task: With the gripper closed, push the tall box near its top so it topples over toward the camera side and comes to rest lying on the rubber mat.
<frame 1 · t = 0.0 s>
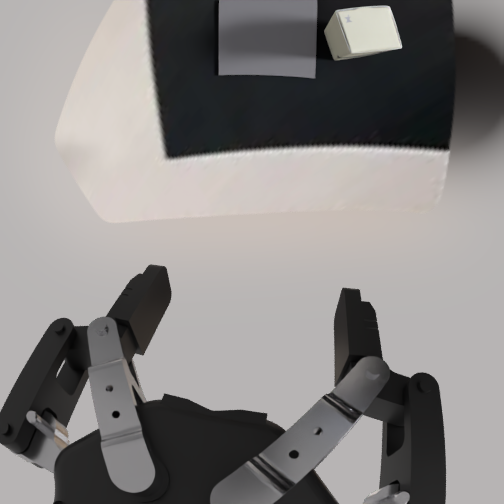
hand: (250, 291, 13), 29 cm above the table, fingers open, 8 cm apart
mat: (267, 35, 29), on the table
box: (348, 42, 28), on the table
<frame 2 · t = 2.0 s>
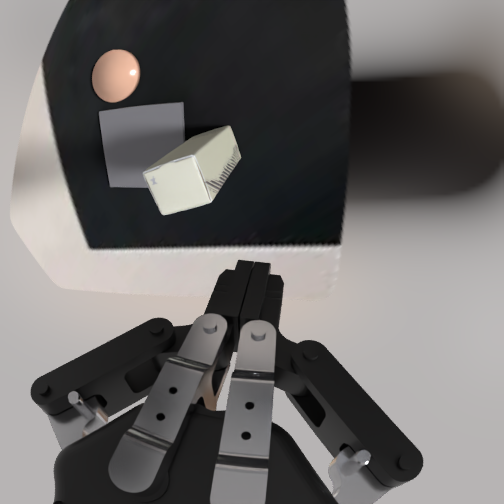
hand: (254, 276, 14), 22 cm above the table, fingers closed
mat: (142, 146, 35), on the table
glossy peach dome: (116, 75, 29), on the table
box: (218, 145, 33), on the table
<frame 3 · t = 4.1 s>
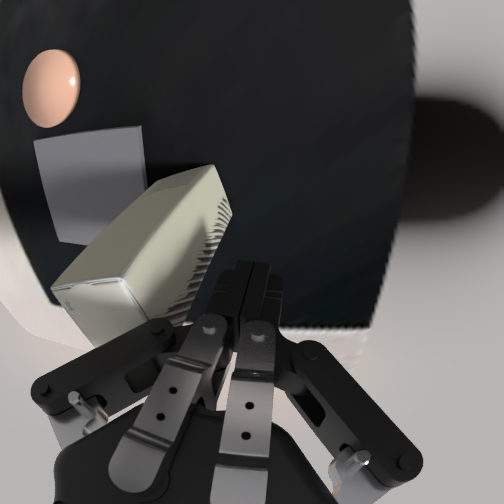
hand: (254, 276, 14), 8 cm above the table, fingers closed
mat: (91, 191, 23), on the table
glossy peach dome: (51, 87, 18), on the table
box: (196, 194, 22), on the table, touching gripper
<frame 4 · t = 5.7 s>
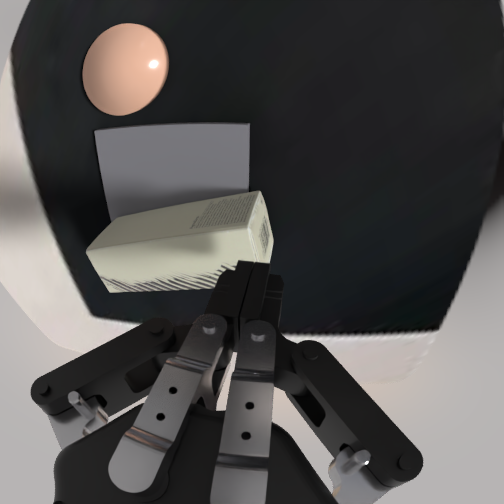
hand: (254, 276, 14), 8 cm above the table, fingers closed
mat: (171, 193, 22), on the table
glossy peach dome: (125, 68, 17), on the table
box: (267, 235, 19), point 3 cm above the table, touching mat
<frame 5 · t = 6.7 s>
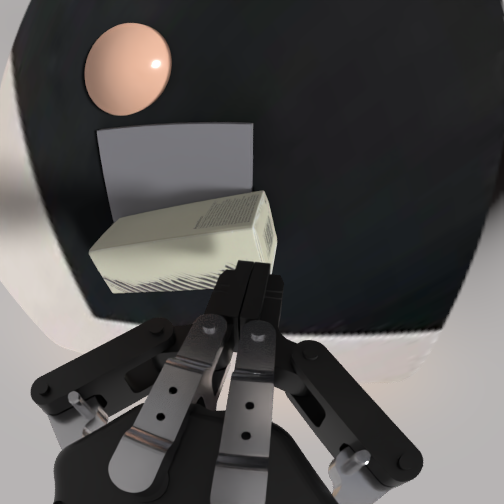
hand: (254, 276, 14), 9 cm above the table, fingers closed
mat: (174, 193, 22), on the table
glossy peach dome: (127, 68, 17), on the table
box: (271, 235, 19), point 3 cm above the table, touching mat
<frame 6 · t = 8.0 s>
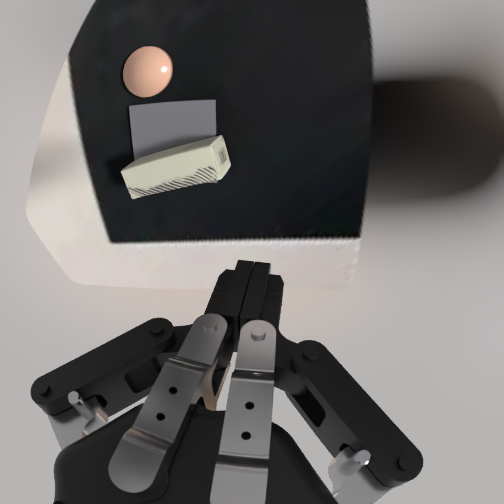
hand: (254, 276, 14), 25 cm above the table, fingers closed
mat: (173, 141, 37), on the table
glossy peach dome: (148, 71, 31), on the table
box: (223, 155, 33), point 3 cm above the table, touching mat
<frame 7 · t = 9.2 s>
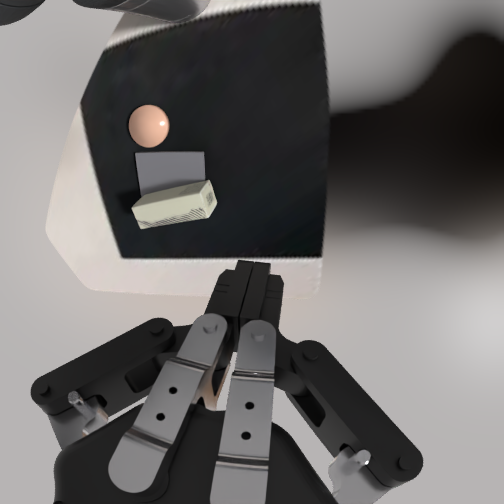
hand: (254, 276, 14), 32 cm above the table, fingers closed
mat: (171, 182, 48), on the table
glossy peach dome: (149, 125, 42), on the table
box: (210, 197, 45), point 3 cm above the table, touching mat
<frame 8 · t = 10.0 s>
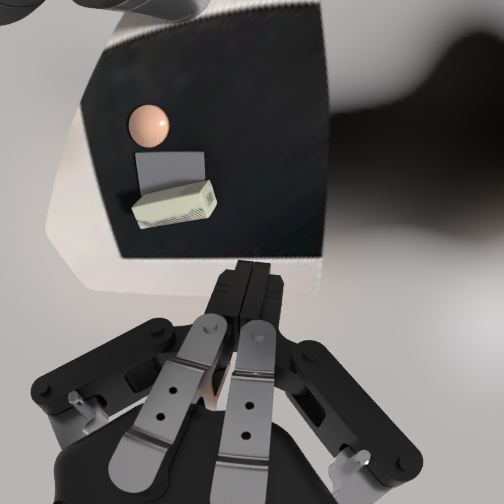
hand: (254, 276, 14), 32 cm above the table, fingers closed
mat: (171, 182, 48), on the table
glossy peach dome: (149, 125, 42), on the table
box: (210, 197, 45), point 3 cm above the table, touching mat
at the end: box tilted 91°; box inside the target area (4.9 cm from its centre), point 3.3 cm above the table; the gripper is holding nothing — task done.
